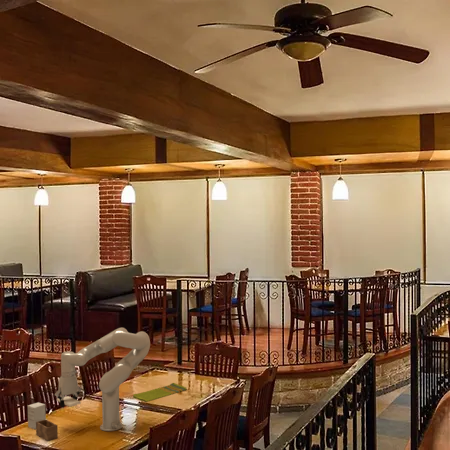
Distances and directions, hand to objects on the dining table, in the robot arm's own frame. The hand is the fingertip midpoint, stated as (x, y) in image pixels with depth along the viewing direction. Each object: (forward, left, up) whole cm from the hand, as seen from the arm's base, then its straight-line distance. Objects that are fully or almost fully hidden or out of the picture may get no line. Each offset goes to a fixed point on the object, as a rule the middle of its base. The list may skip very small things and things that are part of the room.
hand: (68, 405), depth 320 cm
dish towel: (+18, -77, -15) cm, 80 cm away
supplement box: (+19, +11, -14) cm, 26 cm away
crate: (-1, +14, -14) cm, 20 cm away
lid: (0, 0, +2) cm, 2 cm away
